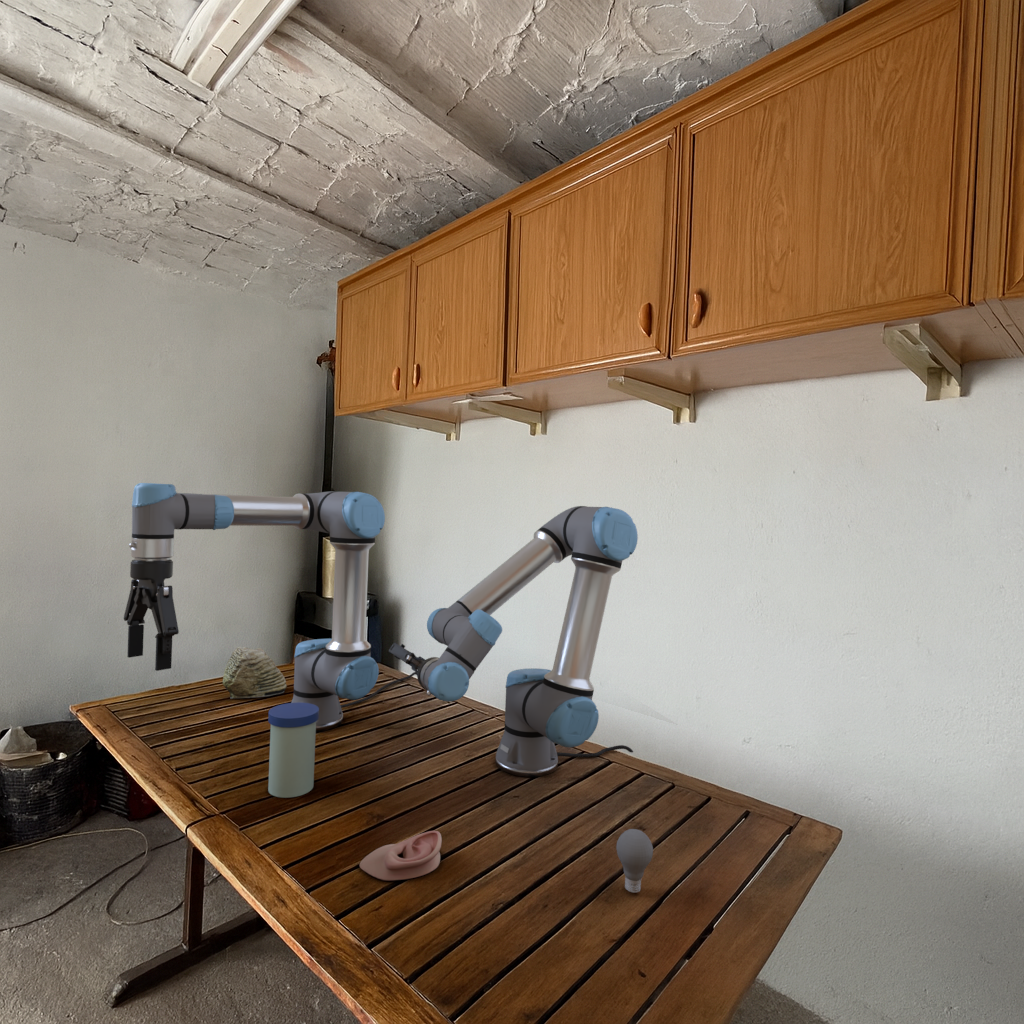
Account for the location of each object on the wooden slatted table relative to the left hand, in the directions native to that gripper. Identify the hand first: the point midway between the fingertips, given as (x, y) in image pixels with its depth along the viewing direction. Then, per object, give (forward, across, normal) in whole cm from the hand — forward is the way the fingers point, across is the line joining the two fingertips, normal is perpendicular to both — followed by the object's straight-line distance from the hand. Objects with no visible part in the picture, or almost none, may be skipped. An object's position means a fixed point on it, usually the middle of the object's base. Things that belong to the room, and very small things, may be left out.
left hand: (148, 662), depth 129 cm
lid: (+11, +17, +23) cm, 31 cm away
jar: (+28, +17, +23) cm, 40 cm away
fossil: (+28, -47, +50) cm, 74 cm away
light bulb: (+28, +90, +41) cm, 103 cm away
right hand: (+6, +23, +54) cm, 59 cm away
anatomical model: (+28, +56, +20) cm, 66 cm away
